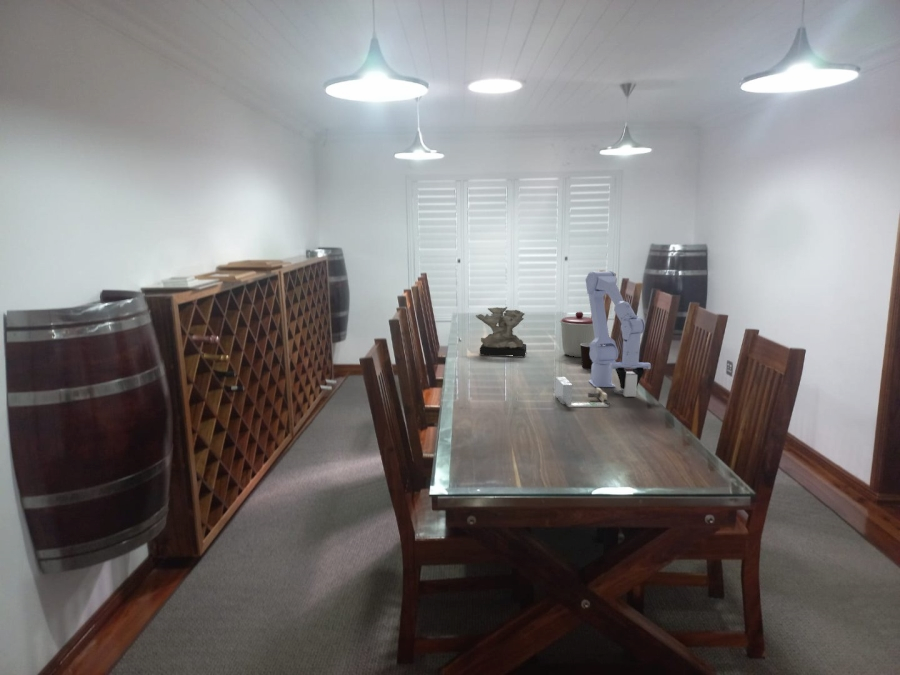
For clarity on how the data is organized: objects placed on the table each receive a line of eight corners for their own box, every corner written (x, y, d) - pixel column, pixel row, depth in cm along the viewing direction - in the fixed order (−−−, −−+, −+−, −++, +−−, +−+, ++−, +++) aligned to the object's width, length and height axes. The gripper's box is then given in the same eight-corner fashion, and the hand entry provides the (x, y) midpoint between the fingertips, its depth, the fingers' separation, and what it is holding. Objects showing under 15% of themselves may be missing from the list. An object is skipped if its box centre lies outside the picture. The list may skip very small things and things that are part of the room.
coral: (472, 354, 282) (472, 310, 278) (479, 346, 302) (479, 305, 298) (524, 357, 277) (526, 312, 273) (528, 349, 297) (529, 306, 293)
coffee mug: (585, 370, 253) (586, 347, 252) (575, 365, 262) (576, 343, 260) (609, 368, 256) (610, 346, 255) (599, 364, 265) (600, 342, 263)
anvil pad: (584, 395, 213) (585, 387, 213) (598, 395, 214) (599, 387, 213) (595, 406, 200) (596, 398, 200) (610, 406, 200) (611, 398, 200)
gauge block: (612, 392, 217) (613, 371, 215) (631, 392, 217) (632, 371, 216) (616, 396, 212) (618, 375, 211) (636, 396, 212) (637, 374, 211)
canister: (569, 349, 296) (571, 308, 292) (603, 354, 285) (605, 311, 281) (551, 355, 282) (553, 311, 278) (586, 360, 271) (588, 315, 267)
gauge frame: (555, 395, 214) (555, 376, 213) (596, 395, 215) (597, 376, 213) (564, 407, 200) (565, 387, 199) (608, 406, 201) (610, 386, 200)
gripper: (614, 353, 207) (612, 391, 210) (655, 353, 208) (652, 390, 211) (608, 349, 214) (606, 385, 217) (647, 349, 215) (644, 385, 218)
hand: (628, 388), depth 214 cm, fingers closed on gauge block, 4 cm apart
